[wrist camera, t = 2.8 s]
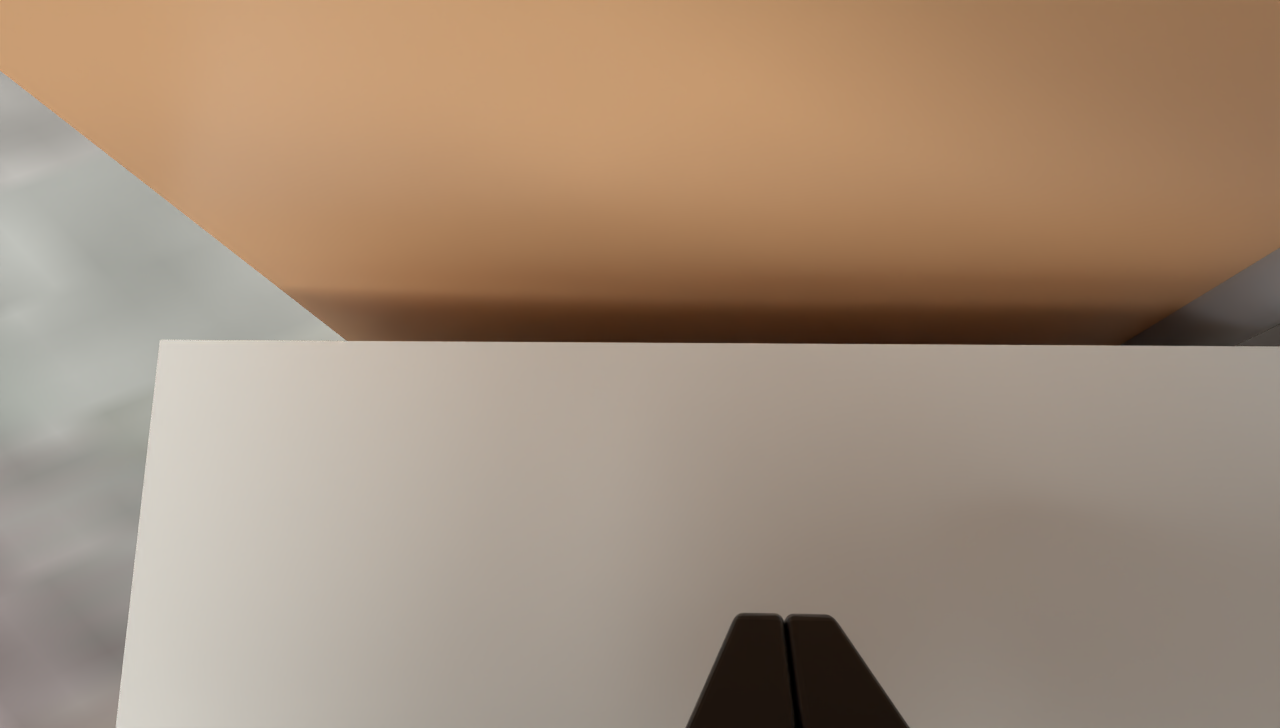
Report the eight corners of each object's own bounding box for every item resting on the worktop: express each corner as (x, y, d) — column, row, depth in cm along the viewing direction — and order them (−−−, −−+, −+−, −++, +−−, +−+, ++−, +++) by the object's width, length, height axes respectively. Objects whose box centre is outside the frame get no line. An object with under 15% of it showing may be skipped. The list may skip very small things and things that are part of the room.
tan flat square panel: (1119, 412, 19) (1927, 45, 6) (392, 405, 19) (-119, 57, 7) (1113, 326, 19) (1868, -176, 7) (398, 323, 20) (-83, -146, 7)
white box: (1266, 1016, 17) (1709, 1330, 10) (301, 983, 18) (24, 1252, 10) (1210, 440, 19) (1543, 334, 12) (343, 432, 20) (134, 327, 12)
